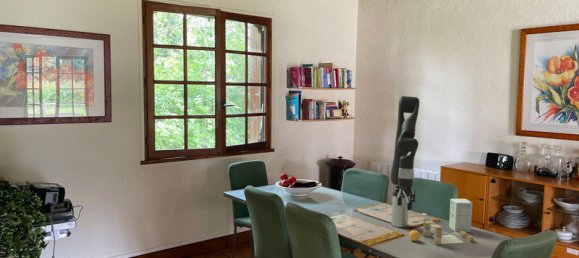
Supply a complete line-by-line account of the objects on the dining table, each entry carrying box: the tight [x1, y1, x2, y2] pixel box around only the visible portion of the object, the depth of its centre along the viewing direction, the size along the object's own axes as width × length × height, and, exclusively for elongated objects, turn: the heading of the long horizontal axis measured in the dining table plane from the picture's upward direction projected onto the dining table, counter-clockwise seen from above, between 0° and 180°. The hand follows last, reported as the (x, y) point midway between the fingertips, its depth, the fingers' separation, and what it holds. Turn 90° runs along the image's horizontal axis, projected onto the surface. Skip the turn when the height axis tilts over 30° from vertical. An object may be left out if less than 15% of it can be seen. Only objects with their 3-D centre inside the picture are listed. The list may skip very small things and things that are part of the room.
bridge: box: [422, 218, 443, 246], centre depth 240 cm, size 14×3×9 cm, turn 10°
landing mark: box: [431, 234, 465, 245], centre depth 242 cm, size 12×12×1 cm
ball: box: [408, 229, 421, 242], centre depth 238 cm, size 6×6×6 cm
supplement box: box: [448, 198, 473, 233], centre depth 259 cm, size 10×9×17 cm
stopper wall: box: [458, 231, 475, 243], centre depth 244 cm, size 11×2×2 cm, turn 10°
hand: (404, 207), depth 234 cm, fingers open, 8 cm apart
